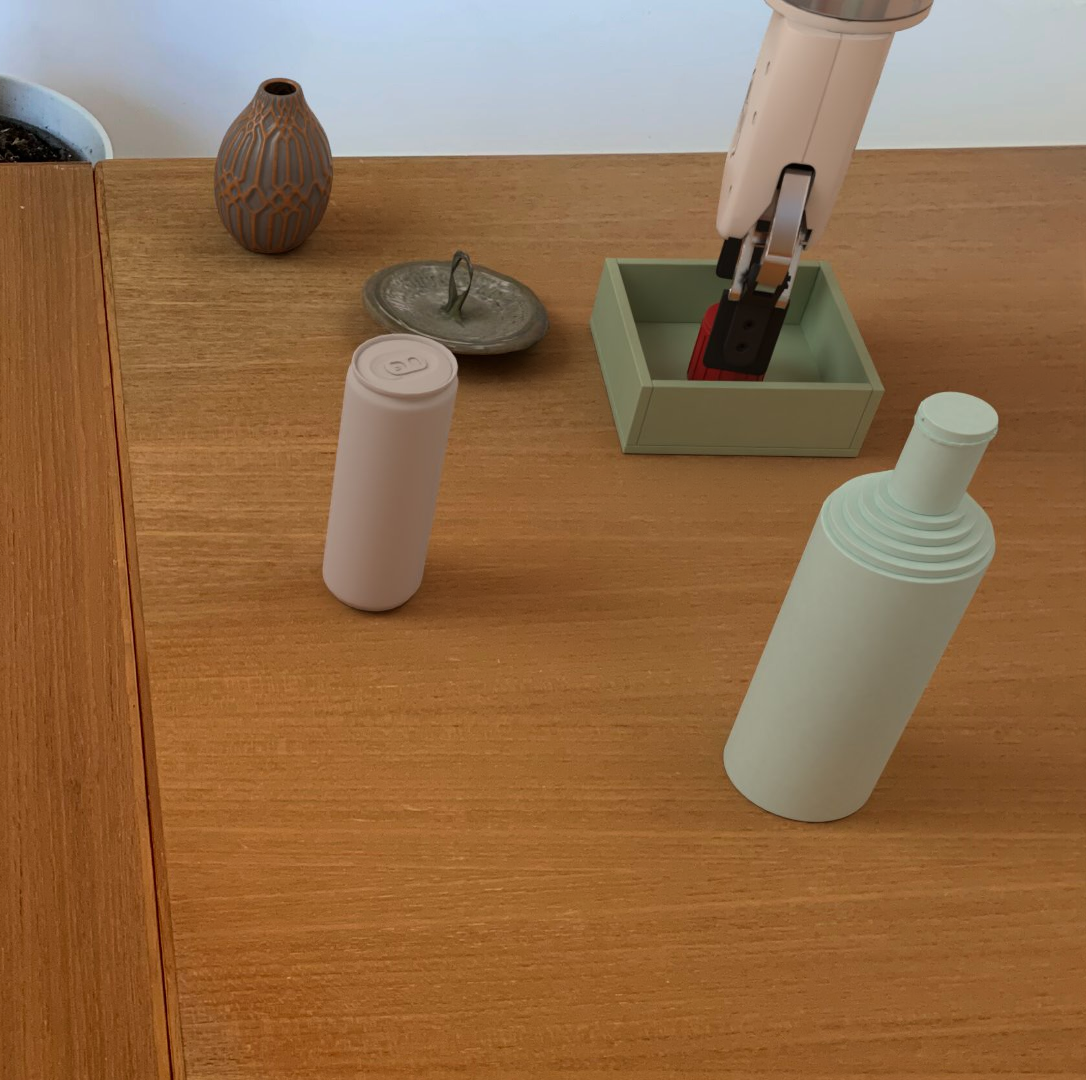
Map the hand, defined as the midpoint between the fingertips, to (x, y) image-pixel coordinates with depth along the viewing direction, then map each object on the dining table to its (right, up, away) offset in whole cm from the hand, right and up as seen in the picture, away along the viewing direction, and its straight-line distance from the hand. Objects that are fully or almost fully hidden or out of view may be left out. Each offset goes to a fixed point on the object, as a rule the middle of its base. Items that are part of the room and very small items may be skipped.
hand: (739, 321), depth 89 cm
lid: (-14, +2, +7) cm, 15 cm away
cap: (0, -2, +3) cm, 3 cm away
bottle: (-3, -25, -14) cm, 29 cm away
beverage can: (-21, -16, -7) cm, 27 cm away
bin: (0, -2, +3) cm, 4 cm away
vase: (-24, +10, +13) cm, 29 cm away
